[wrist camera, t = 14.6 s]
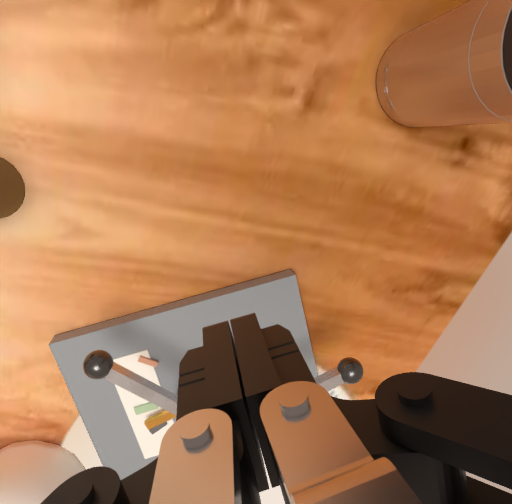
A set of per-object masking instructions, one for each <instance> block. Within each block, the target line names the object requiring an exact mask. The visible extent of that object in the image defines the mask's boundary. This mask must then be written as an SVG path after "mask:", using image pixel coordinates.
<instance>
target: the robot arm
mask: <svg viewBox="0 0 512 504" xmlns="http://www.w3.org/2000/svg"><path fill="white" fill-rule="evenodd" d="M376 87H377V94H378V98H379V101H380V104H381V106H382V108H383V110H384V111H385V112H386V114H387V115H388V116H389V117H390V118H391V119H393V120H394V121H395V122H397V123H399V124H401V125H403V126H408V127H432V126H454V125H472V124H490V123H508V122H512V0H471V1H469V2H467V3H465V4H464V5H462V6H460V7H458V8H456V9H454V10H452V11H450V12H448V13H446V14H444V15H442V16H440V17H438V18H436V19H434V20H432V21H429V22H427V23H425V24H423V25H421V26H419V27H417V28H415V29H413V30H412V31H410V32H408V33H406V34H404V35H402V36H400V37H399V38H398V39H396V40H395V41H394V42H393V43H392V44H391V45H390V46H389V48H388V49H387V50H386V52H385V54H384V55H383V57H382V59H381V62H380V64H379V67H378V71H377V78H376ZM230 323H231V327H232V332H233V335H232V332H231V329H230V325H229V322H228V321H224V322H221V323H217V324H214V325H210V326H207V327H203V328H202V332H203V346H201V347H198V348H194V349H191V350H188V351H187V352H186V354H185V355H184V357H183V359H182V360H181V362H180V365H179V381H178V386H179V388H178V398H177V414H176V422H175V423H174V424H173V425H172V426H171V427H170V428H169V429H168V430H167V432H166V433H165V435H164V437H163V439H162V442H161V446H160V451H159V456H158V457H157V458H156V459H155V460H154V461H152V462H151V463H149V464H148V465H146V466H145V467H143V468H141V469H140V470H138V471H136V472H134V473H133V474H131V475H129V476H127V477H126V478H124V479H122V480H120V478H119V475H118V474H117V472H116V471H115V470H113V469H112V468H109V467H93V468H90V469H87V470H84V471H81V472H79V473H77V474H75V475H74V476H72V477H70V478H69V479H67V480H66V481H65V482H63V483H62V484H61V485H59V486H58V487H57V488H56V489H55V490H54V491H53V492H52V493H51V494H50V495H49V496H48V497H47V498H46V499H45V500H44V501H43V502H41V503H40V504H261V501H260V496H259V492H261V491H264V490H267V489H269V486H268V481H267V476H266V472H265V467H264V463H263V458H262V454H263V457H264V461H265V464H266V468H267V471H268V475H269V478H270V482H271V485H272V487H276V486H279V485H280V487H281V490H282V494H283V497H284V500H285V504H512V494H510V493H508V492H505V491H503V490H500V489H498V488H495V487H493V486H490V485H488V484H485V483H483V482H481V481H478V480H476V479H473V478H471V477H468V476H466V472H465V471H467V472H469V473H472V474H474V475H477V476H479V477H482V478H484V479H487V480H489V481H492V482H494V483H497V484H499V485H502V486H504V487H507V488H509V489H512V395H508V394H505V393H501V392H497V391H493V390H489V389H485V388H481V387H477V386H473V385H469V384H466V383H462V382H458V381H454V380H450V379H446V378H442V377H438V376H434V375H431V374H426V373H418V372H409V373H402V374H397V375H394V376H392V377H390V378H388V379H386V380H385V381H383V382H382V383H381V384H380V385H379V386H378V388H377V390H376V393H375V399H369V400H343V399H338V398H335V397H332V396H330V395H329V393H328V392H327V391H326V389H325V388H323V387H322V386H320V385H318V384H317V383H316V381H315V379H314V377H313V375H312V373H311V371H310V370H309V368H308V366H307V364H306V362H305V360H304V358H303V356H302V354H301V352H300V350H299V348H298V346H297V344H296V343H295V340H294V338H293V336H292V334H291V332H290V330H288V329H286V328H284V327H282V326H281V325H279V324H276V325H273V326H269V327H266V328H263V329H261V328H260V325H259V323H258V320H257V317H256V314H255V313H252V314H248V315H245V316H241V317H238V318H234V319H231V320H230ZM233 337H234V339H233ZM260 447H261V449H260ZM261 451H262V453H261Z"/></svg>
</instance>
